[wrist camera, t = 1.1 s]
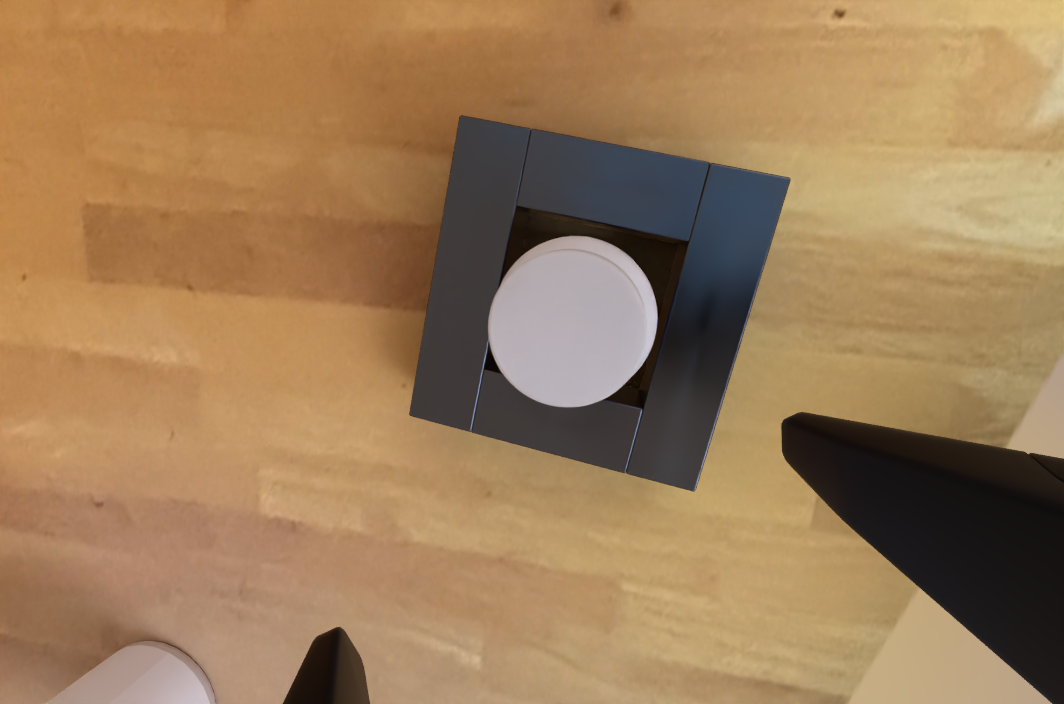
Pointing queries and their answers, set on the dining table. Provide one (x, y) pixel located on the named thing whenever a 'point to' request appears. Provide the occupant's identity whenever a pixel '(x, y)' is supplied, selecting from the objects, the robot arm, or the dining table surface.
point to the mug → (141, 679)
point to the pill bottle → (572, 321)
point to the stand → (615, 204)
